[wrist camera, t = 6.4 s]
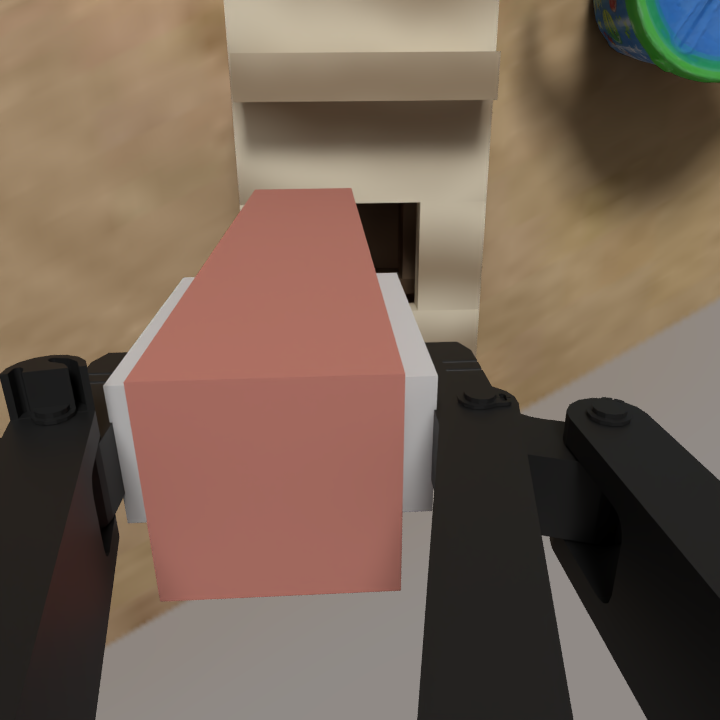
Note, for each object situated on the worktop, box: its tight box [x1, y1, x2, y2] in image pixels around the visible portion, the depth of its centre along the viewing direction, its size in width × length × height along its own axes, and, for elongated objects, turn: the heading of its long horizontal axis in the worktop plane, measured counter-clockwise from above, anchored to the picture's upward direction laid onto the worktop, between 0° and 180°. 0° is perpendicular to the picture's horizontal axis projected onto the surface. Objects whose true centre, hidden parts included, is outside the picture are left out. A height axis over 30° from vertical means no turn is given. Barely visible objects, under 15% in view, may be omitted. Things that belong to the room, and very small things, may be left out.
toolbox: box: [356, 202, 417, 303], centre depth 39 cm, size 20×13×8 cm, turn 0°
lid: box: [224, 0, 501, 358], centre depth 33 cm, size 20×13×4 cm, turn 0°
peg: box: [123, 188, 405, 601], centre depth 19 cm, size 4×4×19 cm
